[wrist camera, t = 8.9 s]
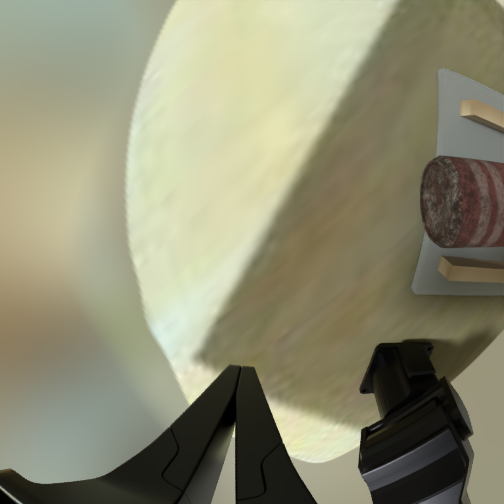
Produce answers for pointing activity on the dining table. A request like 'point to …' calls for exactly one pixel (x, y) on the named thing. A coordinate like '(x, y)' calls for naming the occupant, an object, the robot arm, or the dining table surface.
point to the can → (463, 202)
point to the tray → (475, 147)
